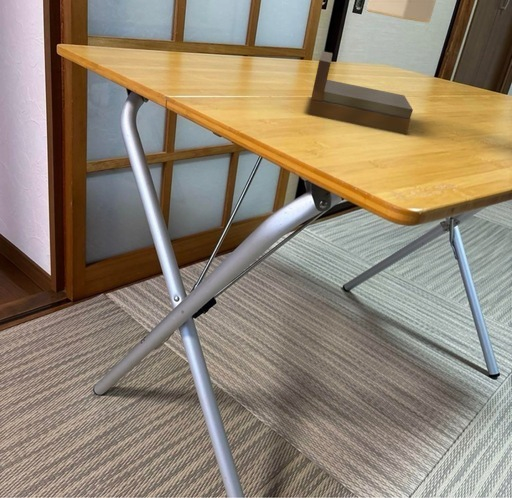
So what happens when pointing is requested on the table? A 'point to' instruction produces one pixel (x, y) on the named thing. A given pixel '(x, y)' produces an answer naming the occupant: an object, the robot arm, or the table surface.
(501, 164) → the table surface
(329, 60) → the l-shaped brown block
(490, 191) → the table surface
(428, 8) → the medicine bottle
